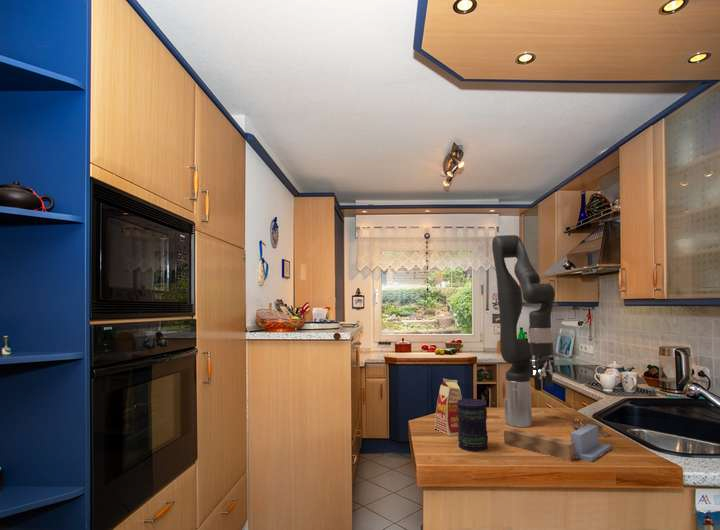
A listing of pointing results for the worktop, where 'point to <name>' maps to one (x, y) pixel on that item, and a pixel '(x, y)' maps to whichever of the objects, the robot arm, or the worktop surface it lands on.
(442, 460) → the worktop surface
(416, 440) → the worktop surface
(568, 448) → the beam
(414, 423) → the worktop surface
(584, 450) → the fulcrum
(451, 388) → the milk carton
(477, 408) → the storage jar
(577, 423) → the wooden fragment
